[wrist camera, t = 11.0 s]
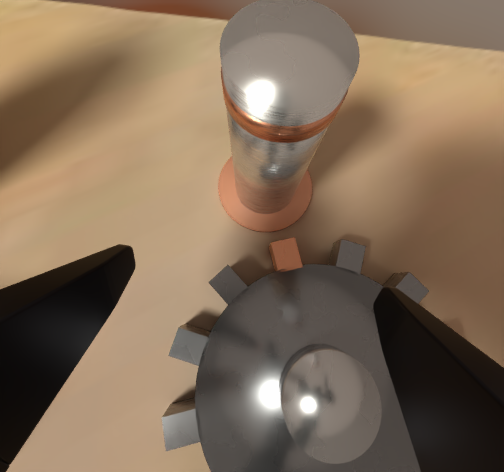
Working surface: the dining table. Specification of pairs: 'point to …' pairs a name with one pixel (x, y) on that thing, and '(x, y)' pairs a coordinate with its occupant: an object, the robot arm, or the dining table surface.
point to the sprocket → (294, 372)
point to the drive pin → (282, 93)
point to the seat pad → (255, 219)
